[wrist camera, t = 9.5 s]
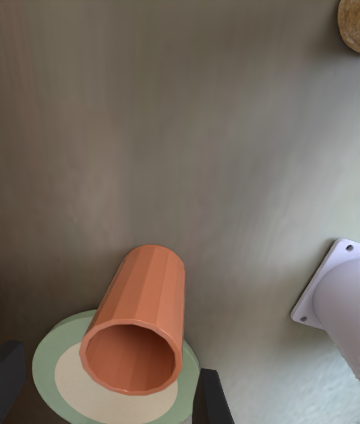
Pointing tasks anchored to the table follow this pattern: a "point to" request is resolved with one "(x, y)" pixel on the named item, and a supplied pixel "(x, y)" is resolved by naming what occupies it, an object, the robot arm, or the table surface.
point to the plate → (98, 395)
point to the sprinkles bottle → (350, 23)
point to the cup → (139, 325)
